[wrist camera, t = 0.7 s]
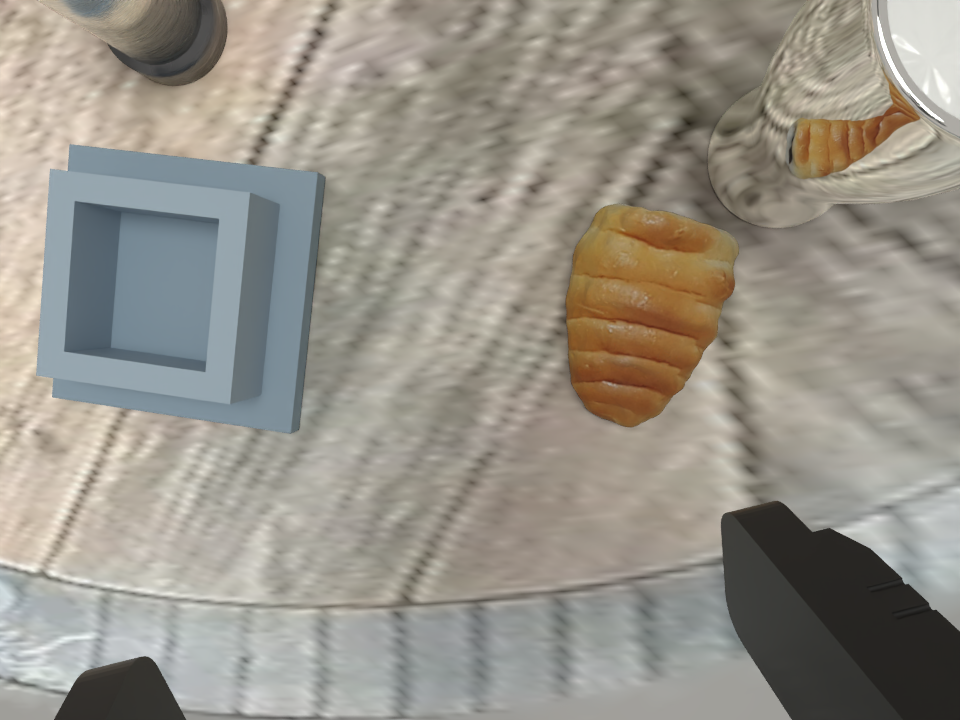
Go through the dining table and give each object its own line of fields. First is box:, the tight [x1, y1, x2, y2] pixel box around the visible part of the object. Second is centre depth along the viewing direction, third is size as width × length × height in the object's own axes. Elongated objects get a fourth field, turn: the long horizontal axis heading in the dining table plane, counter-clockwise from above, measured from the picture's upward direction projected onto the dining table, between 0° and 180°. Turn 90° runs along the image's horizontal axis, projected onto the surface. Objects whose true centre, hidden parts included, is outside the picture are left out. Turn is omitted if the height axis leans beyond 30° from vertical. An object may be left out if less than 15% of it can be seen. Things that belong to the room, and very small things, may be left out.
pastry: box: [566, 203, 739, 427], centre depth 27 cm, size 9×7×4 cm
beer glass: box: [707, 0, 960, 228], centre depth 21 cm, size 7×7×15 cm
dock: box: [36, 144, 325, 433], centre depth 29 cm, size 12×12×4 cm
